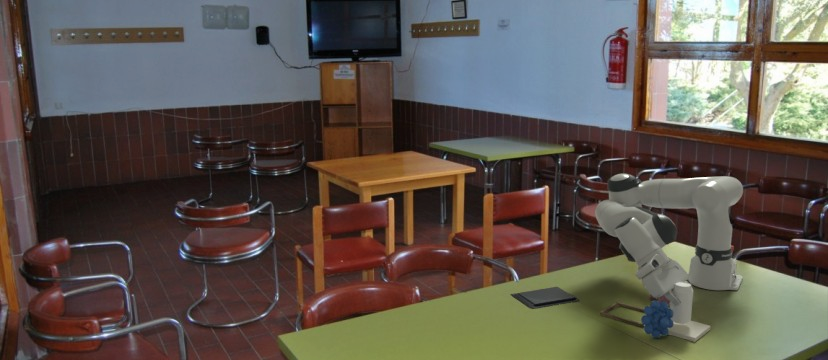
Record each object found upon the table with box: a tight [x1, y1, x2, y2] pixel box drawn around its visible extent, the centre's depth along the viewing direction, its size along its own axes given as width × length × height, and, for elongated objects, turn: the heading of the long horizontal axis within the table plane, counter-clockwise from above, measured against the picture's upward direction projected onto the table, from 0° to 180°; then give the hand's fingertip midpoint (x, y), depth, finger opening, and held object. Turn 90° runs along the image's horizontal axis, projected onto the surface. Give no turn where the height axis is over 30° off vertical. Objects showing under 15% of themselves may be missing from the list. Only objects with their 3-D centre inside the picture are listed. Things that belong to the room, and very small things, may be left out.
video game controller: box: [649, 294, 670, 305], centre depth 231 cm, size 10×5×7 cm, turn 169°
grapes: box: [640, 299, 674, 339], centre depth 204 cm, size 12×7×12 cm, turn 112°
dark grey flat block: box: [509, 286, 581, 310], centre depth 238 cm, size 20×2×15 cm
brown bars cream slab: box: [599, 301, 712, 343], centre depth 218 cm, size 12×31×1 cm, turn 47°
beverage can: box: [669, 281, 694, 324], centre depth 210 cm, size 6×6×12 cm
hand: (683, 301), depth 210 cm, fingers closed on beverage can, 6 cm apart
